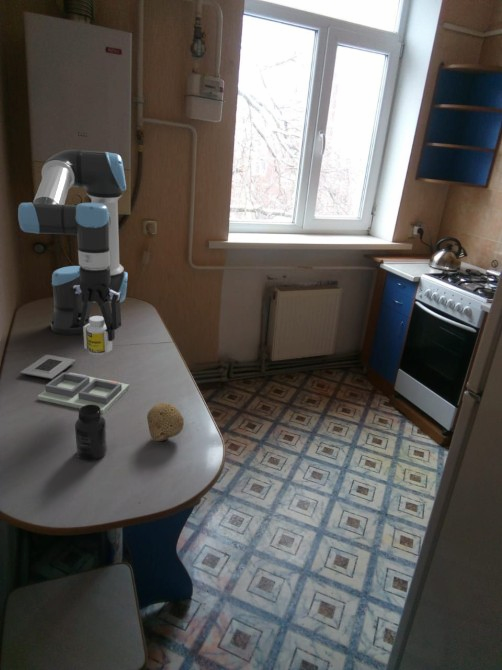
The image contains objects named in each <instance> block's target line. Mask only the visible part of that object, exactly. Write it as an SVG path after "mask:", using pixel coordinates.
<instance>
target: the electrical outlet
mask: <svg viewBox="0 0 502 670" xmlns="http://www.w3.org/2000/svg"><path fill="white" fill-rule="evenodd" d="M76 360H77V359H73V358H69V357H68V358H67V357H62V356H56V355H51V354H46V353H45V354H44V355H43V356H42V357H41V358H39V359H37V360H36V361H35V362H33V363H31V364H30V365H28V366H27V367H26V368H24V369H22V370H21V371H20V372H19V374H22V375H26V376H31V377H36V378H42V379H48V380H53V379H55V378H56V377H58V376H59V375H60V374H62V373H63V371H64V372H65V370H66V369H67V368H69V367H70V366H72V364H74V363H75V362H76Z"/></svg>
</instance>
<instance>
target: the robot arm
mask: <svg viewBox="0 0 502 670" xmlns="http://www.w3.org/2000/svg"><path fill="white" fill-rule="evenodd" d="M71 188H82V189H83V188H84V189H85V190H86V191H85V192H86V193H85V194H86V195H87V196H88V197H89V198H90V199H91V202H82V203H78V204H77V205H75V204H74V205H73V204H72V205H70V204H65V203H66V200H67V196H68V192H69V190H70V189H71ZM124 191H127V183H126V176H125V169H124V162H123V158H122V157H121V155H119V154H118V153H114V152H108V151H99V150H98V151H96V150H82V149H81V150H79V149H66V150H62V151H60V152H58V153H56V154H53V155H52V156H51V157H49V158H48V159H47V160H46V161H45V162H44V164H43V166H42V168H41V181H40V183H39V185H38V189H37V191H36V193H35V195H34V199H33V201H32V202H31V201H30V202H21V203H20V204H19V205H18V209H17V211H18V212H17V218H18V224H19V228H20V230H21V231H23V232H24V233H29V234H36V235H37V234H51V235H52V234H53V235H72V236H73V235H75V236H77V253H78V265H69V266H64V267H61V268H58V269H55V270H54V271H53V272H52V274H51V286H52V294H53V295H52V296H53V297H52V298H53V306H54V307H53V314H52V316H51V320H50V328H51V331H53V332H54V333H55V334H58V335H68V336H71V335H80V334H81V336H82V337H83V346H84V349H86V350H88V339H87V327H88V326H89V325H90V324H89V318H90V317H92V316H91V312H92V307H93V303H96V304H97V305H98V307H99V308H100V311H101V316H102V317H103V318H104V321H105V325H106V328H107V329H105V330H104V342H105V354H108V353H109V352H111V351H112V350H113V341H114V340H115V336H116V333H115V330H118V329H119V328H120V327H121V326H122V314H121V313H122V312H121V303H122V302H125V300H126V295H127V289H128V288H127V287H128V277H129V276H128V275H129V274H128V272H127V271H125V270H124V269H125V268H124V266H122V264H121V263H120V240H119V239H120V238H119V237H120V236H119V209H118V208H119V207H118V206H119V205H118V202H119V201H118V200H119V199H121V197H122V196H123V192H124ZM110 305H111V307H110Z"/></svg>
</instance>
